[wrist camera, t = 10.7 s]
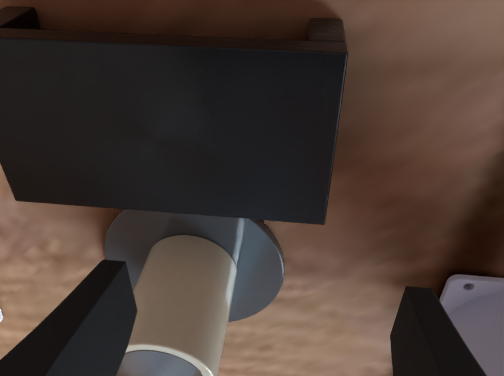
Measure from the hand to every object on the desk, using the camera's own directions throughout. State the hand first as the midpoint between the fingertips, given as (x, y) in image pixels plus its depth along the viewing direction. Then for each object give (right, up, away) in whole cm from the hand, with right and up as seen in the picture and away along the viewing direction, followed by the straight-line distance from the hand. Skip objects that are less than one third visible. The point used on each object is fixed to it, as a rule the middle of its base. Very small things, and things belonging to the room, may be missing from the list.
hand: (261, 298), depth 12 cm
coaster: (-3, -1, +13) cm, 14 cm away
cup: (-4, -1, +13) cm, 13 cm away
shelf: (-3, +7, +7) cm, 10 cm away
